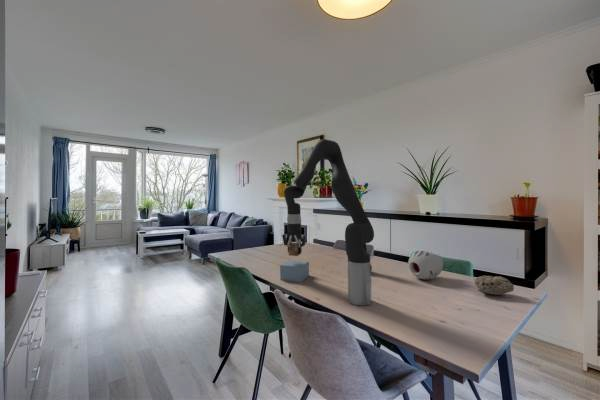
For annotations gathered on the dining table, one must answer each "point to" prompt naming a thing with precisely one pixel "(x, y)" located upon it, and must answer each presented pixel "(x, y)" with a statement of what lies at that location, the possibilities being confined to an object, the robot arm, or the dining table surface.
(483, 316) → the dining table surface
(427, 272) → the decorative object
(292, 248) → the walnut block
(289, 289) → the dining table surface
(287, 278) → the slate-blue plinth
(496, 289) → the pumice stone
